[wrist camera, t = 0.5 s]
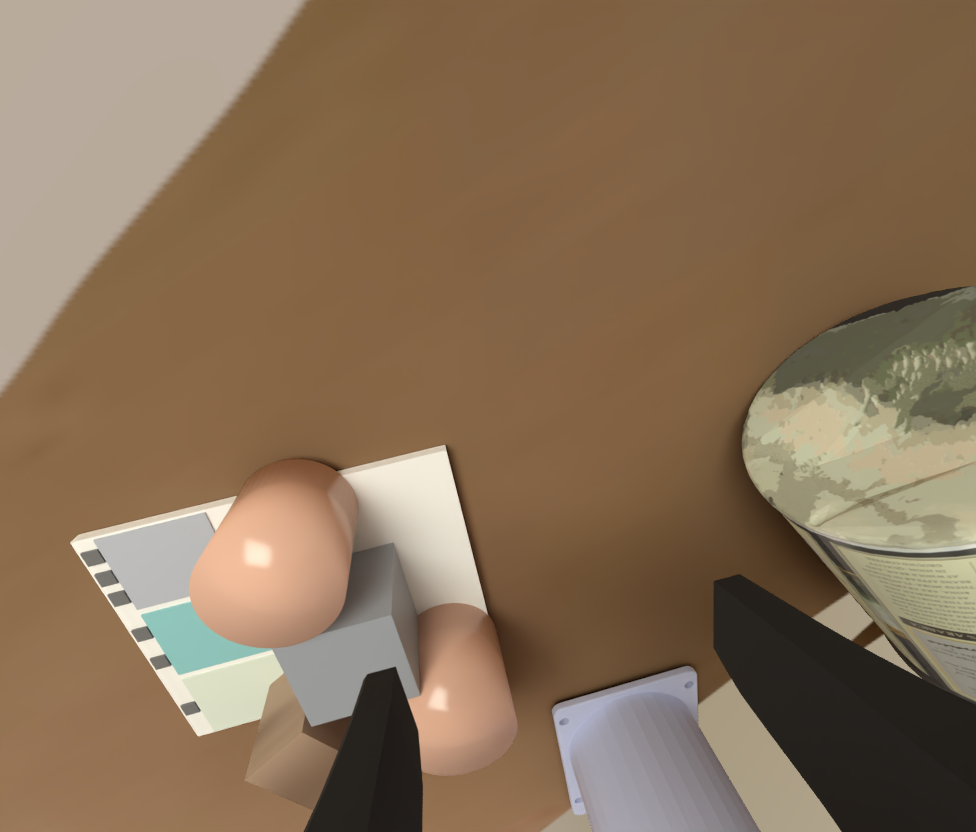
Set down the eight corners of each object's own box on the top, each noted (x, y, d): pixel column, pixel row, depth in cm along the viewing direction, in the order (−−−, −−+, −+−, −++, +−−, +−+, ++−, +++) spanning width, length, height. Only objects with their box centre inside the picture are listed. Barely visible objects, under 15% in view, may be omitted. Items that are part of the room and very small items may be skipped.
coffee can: (1113, 229, 14) (1178, 492, 20) (752, 343, 22) (870, 508, 28) (1276, 546, 9) (1303, 786, 14) (723, 547, 17) (877, 702, 22)
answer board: (495, 643, 23) (497, 653, 23) (202, 725, 22) (197, 738, 22) (444, 444, 19) (446, 451, 19) (78, 534, 18) (68, 544, 17)
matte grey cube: (417, 614, 21) (420, 695, 18) (327, 639, 21) (311, 726, 17) (393, 542, 20) (391, 614, 16) (295, 567, 19) (270, 647, 16)
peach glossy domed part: (372, 541, 20) (363, 626, 16) (263, 569, 19) (225, 663, 15) (338, 446, 18) (319, 513, 14) (218, 475, 18) (161, 553, 13)
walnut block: (399, 694, 23) (401, 782, 19) (354, 731, 23) (348, 825, 20) (317, 644, 21) (301, 732, 17) (269, 685, 21) (244, 780, 18)
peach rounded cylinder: (503, 661, 23) (525, 755, 19) (414, 686, 23) (416, 788, 19) (486, 592, 22) (506, 679, 17) (389, 618, 21) (386, 713, 17)
